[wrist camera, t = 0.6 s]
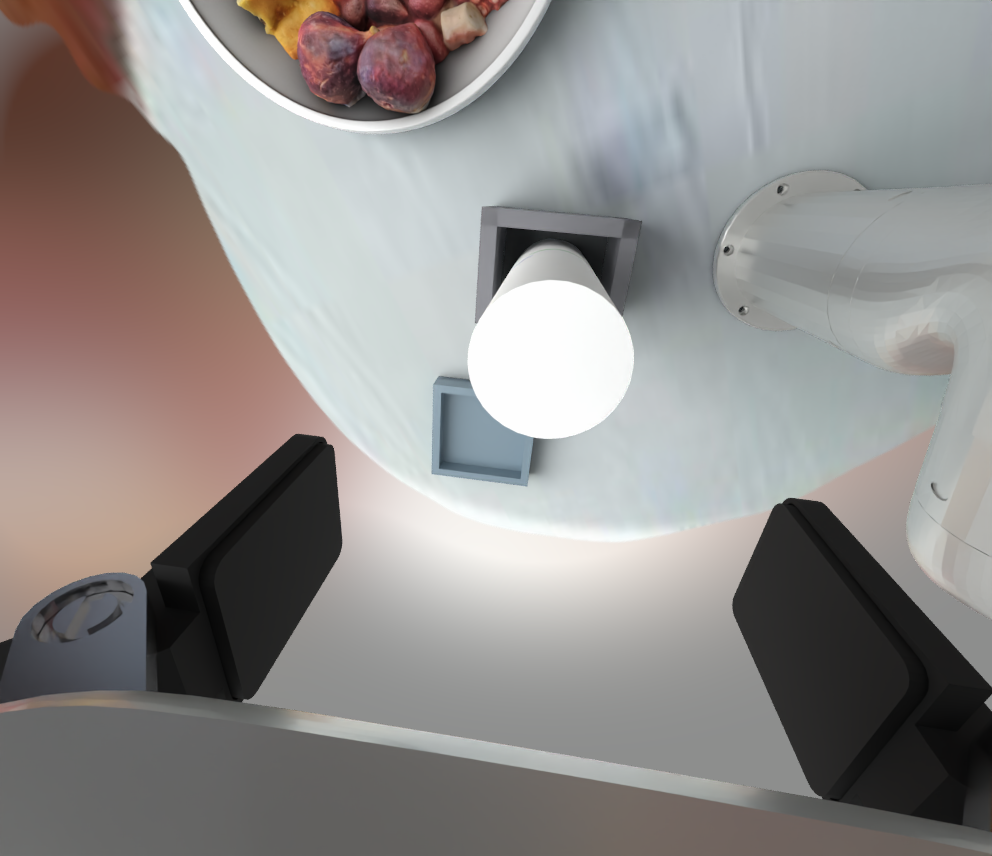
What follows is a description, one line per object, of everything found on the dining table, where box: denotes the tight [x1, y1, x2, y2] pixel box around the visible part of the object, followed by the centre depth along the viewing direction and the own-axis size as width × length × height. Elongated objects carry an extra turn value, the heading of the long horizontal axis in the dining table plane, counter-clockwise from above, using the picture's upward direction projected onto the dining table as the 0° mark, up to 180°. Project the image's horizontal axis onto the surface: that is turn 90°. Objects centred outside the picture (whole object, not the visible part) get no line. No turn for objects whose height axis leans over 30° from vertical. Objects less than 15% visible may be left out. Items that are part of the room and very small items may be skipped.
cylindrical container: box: [468, 239, 634, 439], centre depth 31 cm, size 7×7×25 cm
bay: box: [475, 206, 642, 323], centre depth 38 cm, size 11×8×8 cm
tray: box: [432, 376, 534, 486], centre depth 48 cm, size 11×11×2 cm
